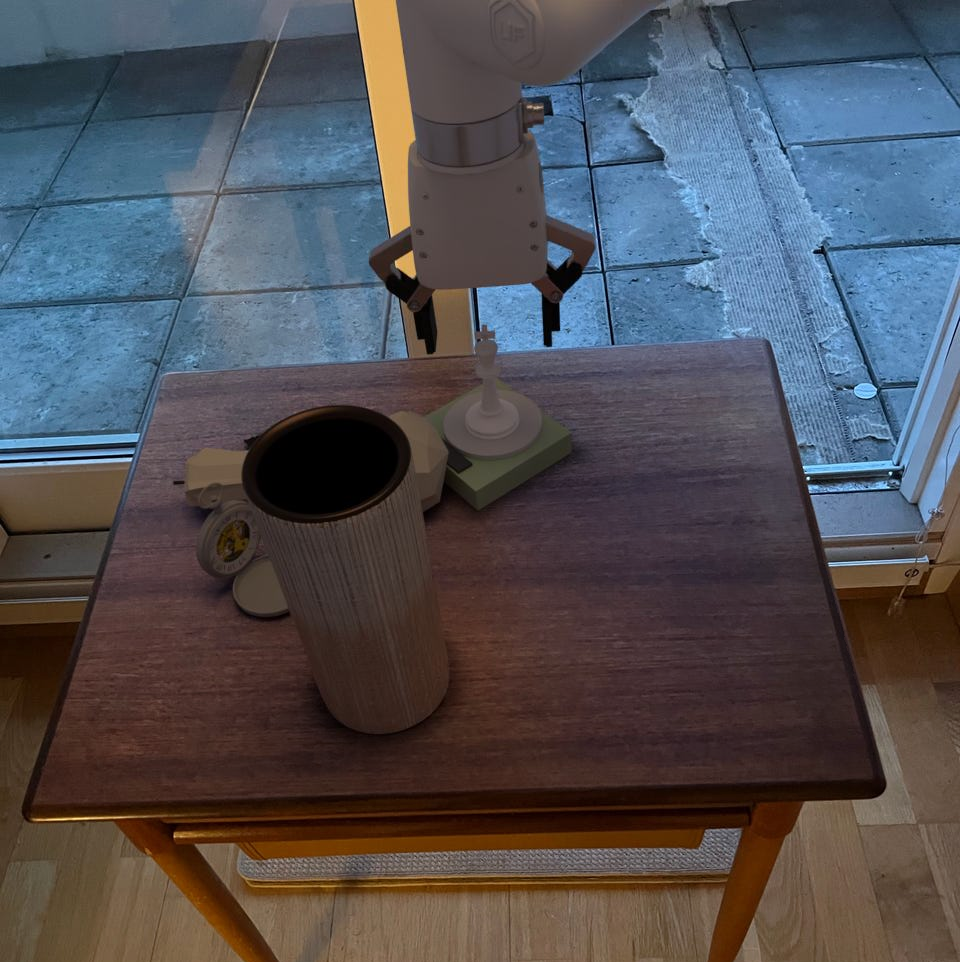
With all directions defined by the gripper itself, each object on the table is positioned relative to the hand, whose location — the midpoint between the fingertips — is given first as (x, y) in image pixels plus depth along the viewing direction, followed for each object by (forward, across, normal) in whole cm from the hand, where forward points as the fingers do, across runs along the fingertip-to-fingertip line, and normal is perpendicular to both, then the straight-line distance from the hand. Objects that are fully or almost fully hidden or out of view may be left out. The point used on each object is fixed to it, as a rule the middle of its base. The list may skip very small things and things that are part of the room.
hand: (489, 340), depth 78 cm
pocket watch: (+12, +20, +16) cm, 28 cm away
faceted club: (+12, +16, +5) cm, 21 cm away
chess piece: (+9, 0, 0) cm, 9 cm away
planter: (+12, +8, +26) cm, 30 cm away
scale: (+12, +1, 0) cm, 12 cm away
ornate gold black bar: (+11, +21, -3) cm, 24 cm away
